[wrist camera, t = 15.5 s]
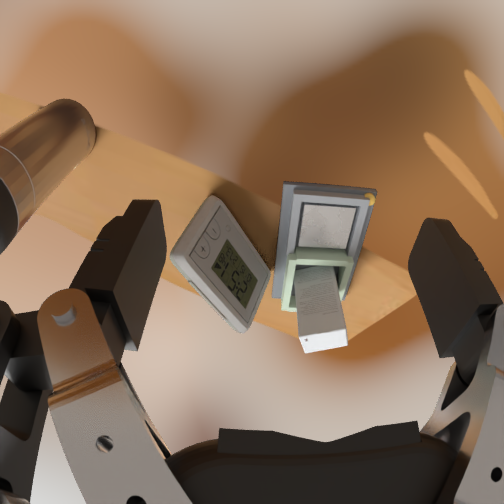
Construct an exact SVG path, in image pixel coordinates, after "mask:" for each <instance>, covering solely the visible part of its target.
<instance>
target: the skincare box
mask: <svg viewBox="0 0 504 504" xmlns="http://www.w3.org/2000/svg"><path fill="white" fill-rule="evenodd" d="M294 285H295V297H296V308H297V320H298V333H299V339H300V341H301V344H302V347H303V349H304V352H305V353H310V352H315V351H320V350H326V349H331V348H336V347H342V346H347V345H348V338H347V329H346V324H345V319H344V314H343V310H342V305H341V300H340V295H339V290H338V285H337V281H336V276H335V272H334V267H333V266H321V265H319V266H314V267H309V268H305V269H300V270H295V273H294Z"/></svg>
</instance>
